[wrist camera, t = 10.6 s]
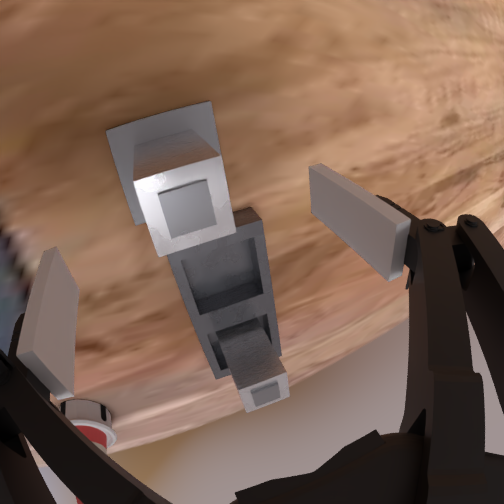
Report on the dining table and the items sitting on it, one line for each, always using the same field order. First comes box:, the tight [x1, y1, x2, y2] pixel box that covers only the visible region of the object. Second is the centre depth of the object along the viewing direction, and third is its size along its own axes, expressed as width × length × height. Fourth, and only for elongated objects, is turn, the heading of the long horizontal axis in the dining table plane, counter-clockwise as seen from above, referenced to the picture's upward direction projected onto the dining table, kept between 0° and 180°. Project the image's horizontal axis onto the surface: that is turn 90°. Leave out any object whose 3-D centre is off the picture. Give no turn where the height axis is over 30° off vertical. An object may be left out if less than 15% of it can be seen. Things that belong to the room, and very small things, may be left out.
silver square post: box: [215, 317, 290, 413], centre depth 35 cm, size 5×5×10 cm
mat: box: [106, 101, 229, 225], centre depth 26 cm, size 9×9×1 cm
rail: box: [167, 207, 282, 379], centre depth 35 cm, size 20×9×3 cm, turn 9°
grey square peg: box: [133, 129, 236, 257], centre depth 22 cm, size 5×5×10 cm
